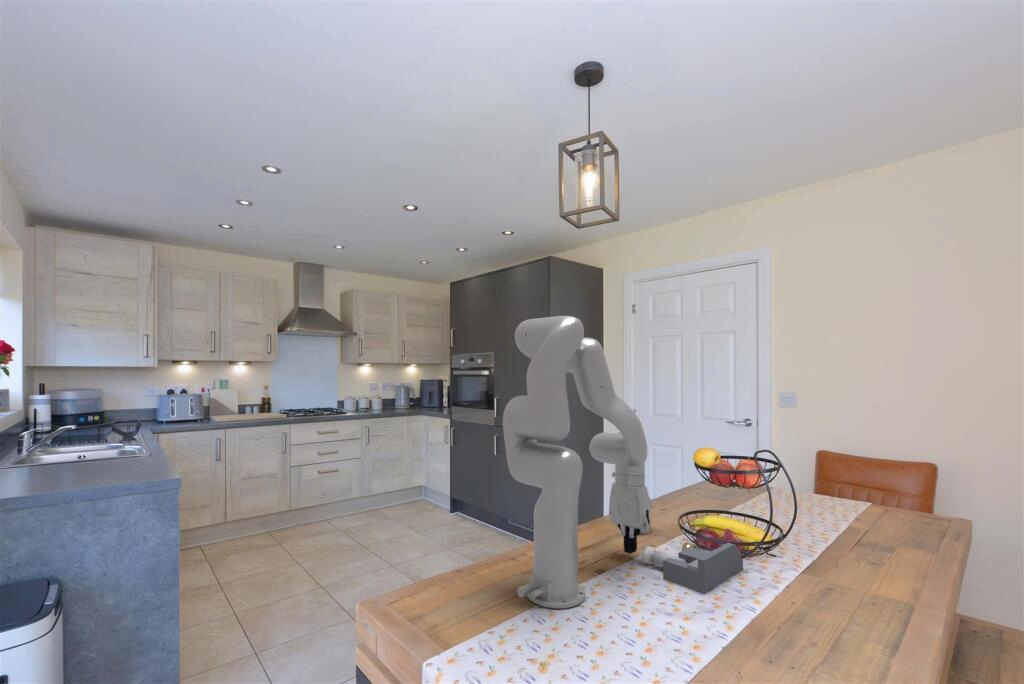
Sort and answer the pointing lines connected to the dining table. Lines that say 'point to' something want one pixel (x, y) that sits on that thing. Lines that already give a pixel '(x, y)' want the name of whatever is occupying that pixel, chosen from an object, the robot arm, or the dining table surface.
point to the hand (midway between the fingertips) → (630, 551)
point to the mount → (703, 567)
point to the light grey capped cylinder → (655, 556)
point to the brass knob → (687, 545)
